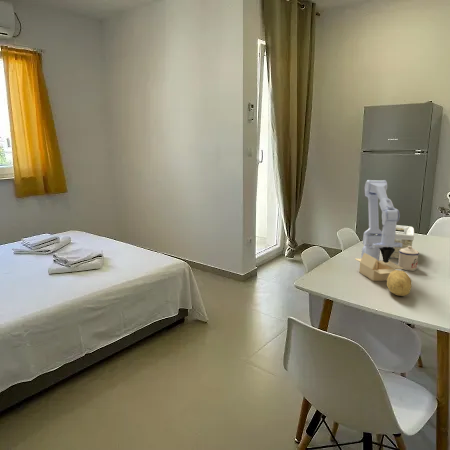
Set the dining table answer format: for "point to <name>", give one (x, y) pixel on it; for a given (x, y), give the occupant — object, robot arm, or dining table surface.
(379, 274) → the carton
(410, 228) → the storage basket
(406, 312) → the dining table surface
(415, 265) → the teacup with lid
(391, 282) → the potato
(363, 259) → the flap
